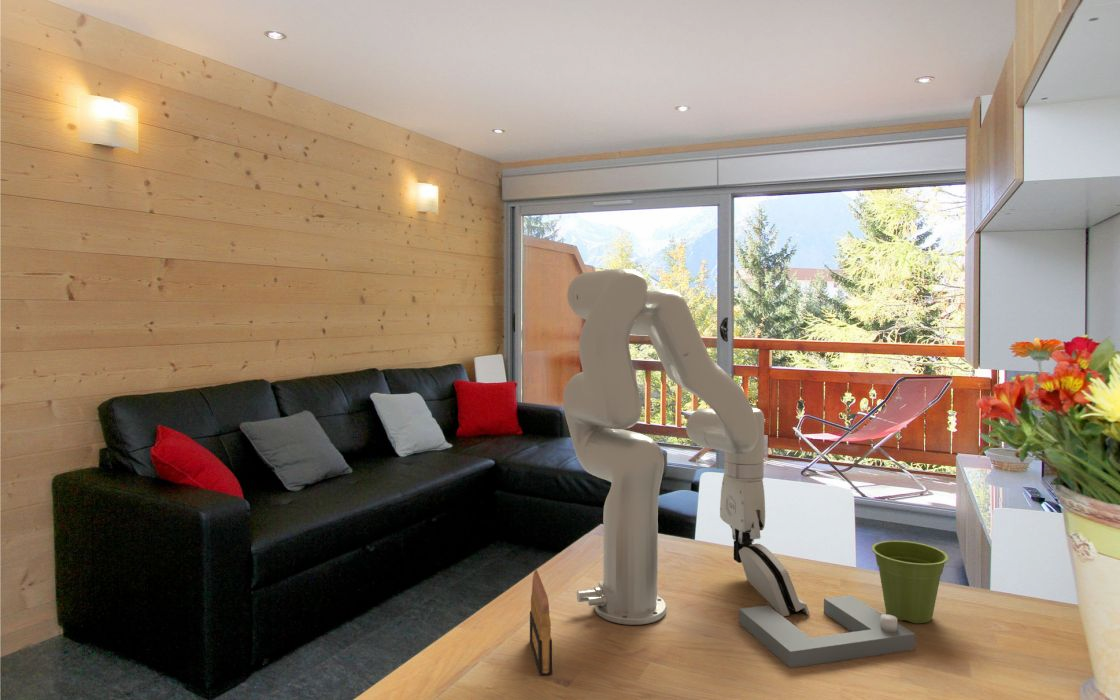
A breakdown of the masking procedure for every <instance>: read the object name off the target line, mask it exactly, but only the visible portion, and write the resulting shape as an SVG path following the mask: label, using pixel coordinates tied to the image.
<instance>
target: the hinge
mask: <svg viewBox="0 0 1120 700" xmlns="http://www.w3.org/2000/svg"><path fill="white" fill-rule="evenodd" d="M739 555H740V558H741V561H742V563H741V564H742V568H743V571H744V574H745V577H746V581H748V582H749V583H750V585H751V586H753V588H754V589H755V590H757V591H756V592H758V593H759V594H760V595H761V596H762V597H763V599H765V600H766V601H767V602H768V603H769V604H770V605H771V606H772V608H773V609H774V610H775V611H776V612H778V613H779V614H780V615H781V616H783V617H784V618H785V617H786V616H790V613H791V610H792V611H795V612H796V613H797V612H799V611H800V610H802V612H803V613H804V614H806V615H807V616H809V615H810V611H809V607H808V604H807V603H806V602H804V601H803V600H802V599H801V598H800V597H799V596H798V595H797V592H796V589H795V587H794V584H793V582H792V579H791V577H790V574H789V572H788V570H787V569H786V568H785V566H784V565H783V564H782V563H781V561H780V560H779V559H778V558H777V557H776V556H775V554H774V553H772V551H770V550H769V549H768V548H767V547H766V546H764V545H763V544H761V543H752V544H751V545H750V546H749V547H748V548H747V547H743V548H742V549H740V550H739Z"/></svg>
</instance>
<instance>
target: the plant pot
mask: <svg viewBox="0 0 1120 700" xmlns="http://www.w3.org/2000/svg"><path fill="white" fill-rule="evenodd" d="M871 551H872V553H873V554H874V555H875V559H876V560H875V561H876V565H877V567H878V572H879V576H880V577H879V578H880V583H881V589H882V590H881V591H882V596H883V602H884V608H885V609H884V610H885V611H886V614H888V615H893V616H895V617H896V618H897V621H907V622H910V623H913V624H923V623H929V622H930V621H931V620H932V619H933V618H934V617H933V616H934V611H935V606H936V601H937V596H938V591H939V587H940V586H939V585H940V581H941V577H942V576H941V575H942V574H943V571H944V567H945V564H946V563H947V562H948V561H949V555H948V554H947V553H946V552H945V551H943V550H941V549H940V548H937V547H935V546H932V545H928V544H924V543H920V542H913V541H907V540H884V541H879V542H876V543H874V544H873V545H872V546H871Z"/></svg>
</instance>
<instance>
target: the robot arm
mask: <svg viewBox="0 0 1120 700" xmlns="http://www.w3.org/2000/svg"><path fill="white" fill-rule="evenodd" d="M566 293H567V295H566V296H567V302H568V305H569V307H570V309H571V310H572V311H573V312H574V314H575V315H577V317H579V318H582V319H583V320H585V321H584V324H583V326H582V329H581V331H580V336H579V339H578V340H579V341H578V353H579V354H578V355H579V359H580V364H581V369H582V371H581V372H578V373H576V374H574V375H573V376H572V377H571V378H570V379H569V380H568V382H567V384H565V388H564V390H563V391H564V392H563V395H562V396H563V397H562V404H563V405H562V406H563V411H564V416H565V419H566V423H567V426H568V431H569V435H570V438H571V441H572V444H573V445H572V446H573V448H574V449H573V450H574V452H575V455H576V458H577V461H578V462H579V464H580V467H582V469H583V470H584V471H585V472H587V473H588V474H590V475H592V476H594V477H596V478H599V479H602V480H606V481H607V482H610V483H611V486H610V489H609V492H608V493H607V496H606V498H605V501H604V505H603V515H602V516H603V517H602V518H603V519H602V520H603V521H602V522H603V579H602V580H599V581H598V585H597V586H594V587H593V589H579V590H577V591H576V599H577V603H583V602H587V605H588V606H589V607H592V606H594V610H595V612H596V614H597V615H598V616H600V617H601V618H602V619H604V620H606V621H609V622H611V623H615V624H620V625H621V624H622V625H626V626H627V625H629V626H635V625H636V626H638V625H639V626H640V625H646V624H651V623H655V622H658V621H659V620H661V619H662V618H663V617H664V616H665V615H666V613H667V603H666V602H665V600H664V599H663V598H662V597H660V596H659V595H658V573H659V572H658V570H659V569H658V568H659V567H658V566H659V565H658V563H659V562H658V560H659V559H658V558H659V557H658V556H659V555H658V553H659V551H658V550H659V549H658V548H659V547H658V545H659V544H658V543H659V542H658V541H659V536H658V535H659V534H658V533H659V532H658V531H659V522H658V518H659V517H658V516H659V512H658V511H659V496H660V490H661V489H660V488H661V484H662V478H663V474H664V469H665V457H664V453H663V450H662V448H661V446H660V445H659V444H658V443H657V442H656V441H655V440H654V439H652V437H649V436H647V435H646V434H643V433H640V432H637V431H636V432H635V431H631V430H627V429H630V428H632V427H634V426H635V425H637V423H639V420H640V418H641V417H642V414H643V413H642V412H643V404H642V398H641V392H640V389H639V386H638V385H639V384H638V381H637V376H636V373H635V370H634V366H633V362H632V356H631V351H630V336H631V335H633V336H634V335H635V336H648V338H649V339H650V342H651V344H652V345H653V347H654V350H655V352H656V354H657V356H658V358H659V360H660V363H661V365H662V367H663V369H664V372H665V374H666V376H667V378H668V379H670V381H672V382H673V383H675V385H677V386H679V388H680V387H681V388H682V389H683V390H685V391H686V392H689V393H690V394H692V395H693V396H696V397H697V398H698V399H700V400H701V401H703V402H704V403H705V404H706V405H708V408H699V409H697V410H695V411H694V412H693V413H691V414H690V415H689V417H688V418H687V420H686V424H685V430H686V431H685V432H686V435H687V436H688V438H689V439H690V440H691V441H692V442H693V443H694V444H695V445H698V446H701V447H704V448H709V449H712V450H717V451H721V452H724V456H723V457H724V461H723V462H724V466H723V467H724V470H723V471H724V473H723V477H722V481H721V489H720V502H719V514H720V515H719V518H720V520H721V521H723V522H724V523H725V524H727V525H729V527H730V529H731V535H732V540H733V560H734V561H736V562H737V563H739V564H742V561H741V558H740V555H739V550H740V549H742V548H743V547H747V548H748V547H749V546H750V545H751V544H754V541H755V540H760V539H761V531H763V530H764V529H765V525H766V499H765V488H764V486H765V485H764V481H763V480H764V477H765V476H764V472H765V471H764V468H765V467H764V465H765V463H764V461H765V460H764V459H765V458H764V457H765V454H764V453H765V415H764V412H763V411H762V409H759V408H757V407H752V405H751V402H750V401H749V398H748V397H747V395H746V392H745V391H744V390H743V389H742V388H741V386H740V385H739V384H738V383H737V382H736V381H735V380H734V379H733V378H732V377H731V376H730V375H729V374H728V373H727V372H726V371H725V370H724V369H723V368H722V367H721V366H719V365H718V364H717V363H716V362H715V361H714V360H713V359H712V358H711V356H710V354H709V352H708V350H707V347H706V345H705V342H704V340H703V338H702V336H701V334H700V331H699V329H698V327H697V323H696V322H695V320H694V317H693V315H692V313H691V310H690V308H689V306H688V303H687V301H686V300H685V298H684V296H682V295H681V294H680V293H678V292H677V291H675V290H672V289H660V288H659V289H649V288H648V283H647V279H646V278H645V277H644V275H642V273H640V272H639V271H637V270H634V269H629V268H611V269H604V270H595V271H594V270H593V271H587V272H586V271H585V272H582V273H580V274H578V275H576V276H575V277H574V278H573V279H572V281H571V282H570V284H569V285H568V288H567V292H566Z"/></svg>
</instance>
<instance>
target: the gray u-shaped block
mask: <svg viewBox="0 0 1120 700" xmlns="http://www.w3.org/2000/svg"><path fill="white" fill-rule="evenodd" d="M823 613H824V614H825V615H826V616H829V617H830V618H831V619H833V620H834V621H835V622H837V623H838V624H840V625H842V626H843V627H845V628H846V629H847V630H849V632H843V633H834V634H829V635H822V636H821V635H820V636H815V637H810V636H809V635H808V634H806V633H805V632H804V631H803V630H802V629H800V628H799V627H797V626H796V625H795V624H793V623H792V622H791V621H790V620H788V619H787V618H786V617H785V616H784V617H783V616H782V615H781V614H780V613H779V612H778V611H777V610H776V609H775V608H773V607H771V606H770V605H767V604H766V605H759V606H753V607H752V606H750V607H743V608H742V607H741V608H738V624H739V625H740V626H741V627H742V628H744V629H745V630H746V631H747V632H748V633H750V634H751V635H752V636H753V637H754V638H755V639H756V640H757V641H758V642H760V643H761V644H762V645H763V646H764V647H765V648H767V649H768V651H770V652H771V653H772V654H773V655H774V656H775V657H776V658H778V659H779V660H780V661H781V662H783V664H785V665H786V666H787V667H788V668H789V669H793V668H799V667H808V666H814V665H819V664H828V663H833V662H839V661H840V662H841V661H848V660H854V659H859V658H868V657H873V656H881V655H887V654H893V653H894V654H895V653H900V652H908V651H915V650H916V633H915V632H913V631H911V630H909V629H908V628H907V627H904V626H903V625H901V624H900V623H898V619H897V618H896V617H895V616H893V615H889V614H888V613H881V612H880V611H878V610H876V609H875V608H873V607H871V606H870V605H868V604H866V603H865V602H863V601H862V600H860V599H858V598H857V597H855V596H853V595H852V594H849V595H842V596H834V597H833V596H832V597H825V598H823Z"/></svg>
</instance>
